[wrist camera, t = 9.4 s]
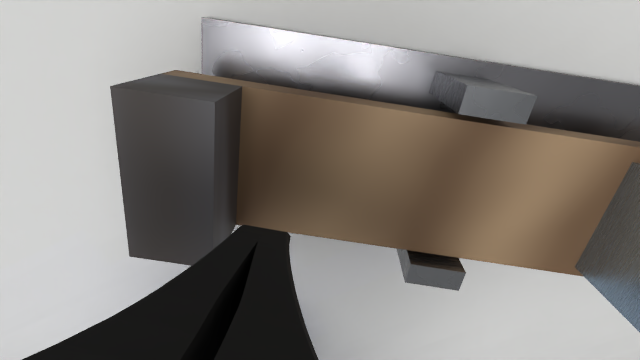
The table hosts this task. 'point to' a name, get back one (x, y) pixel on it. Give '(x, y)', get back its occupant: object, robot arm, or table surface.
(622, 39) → the table surface
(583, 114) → the stand
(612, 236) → the block
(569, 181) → the beam
